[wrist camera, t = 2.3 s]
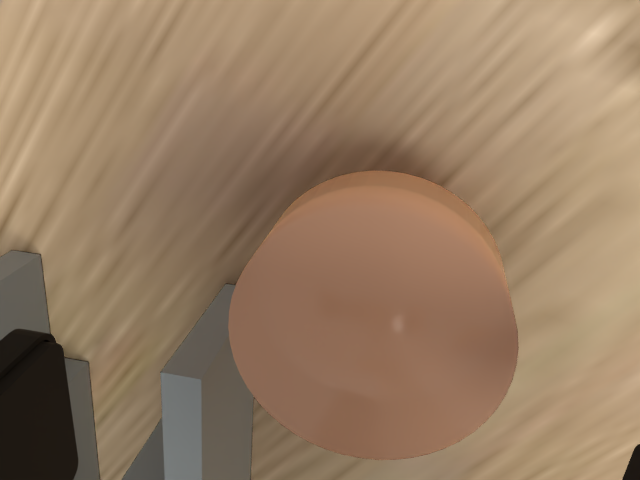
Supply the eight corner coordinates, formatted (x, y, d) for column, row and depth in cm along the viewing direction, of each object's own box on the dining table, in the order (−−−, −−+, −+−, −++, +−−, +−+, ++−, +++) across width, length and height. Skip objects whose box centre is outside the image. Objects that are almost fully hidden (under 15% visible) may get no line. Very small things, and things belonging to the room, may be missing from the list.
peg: (490, 308, 22) (514, 467, 14) (309, 307, 23) (249, 452, 16) (491, 123, 19) (522, 203, 12) (289, 135, 21) (207, 213, 13)
